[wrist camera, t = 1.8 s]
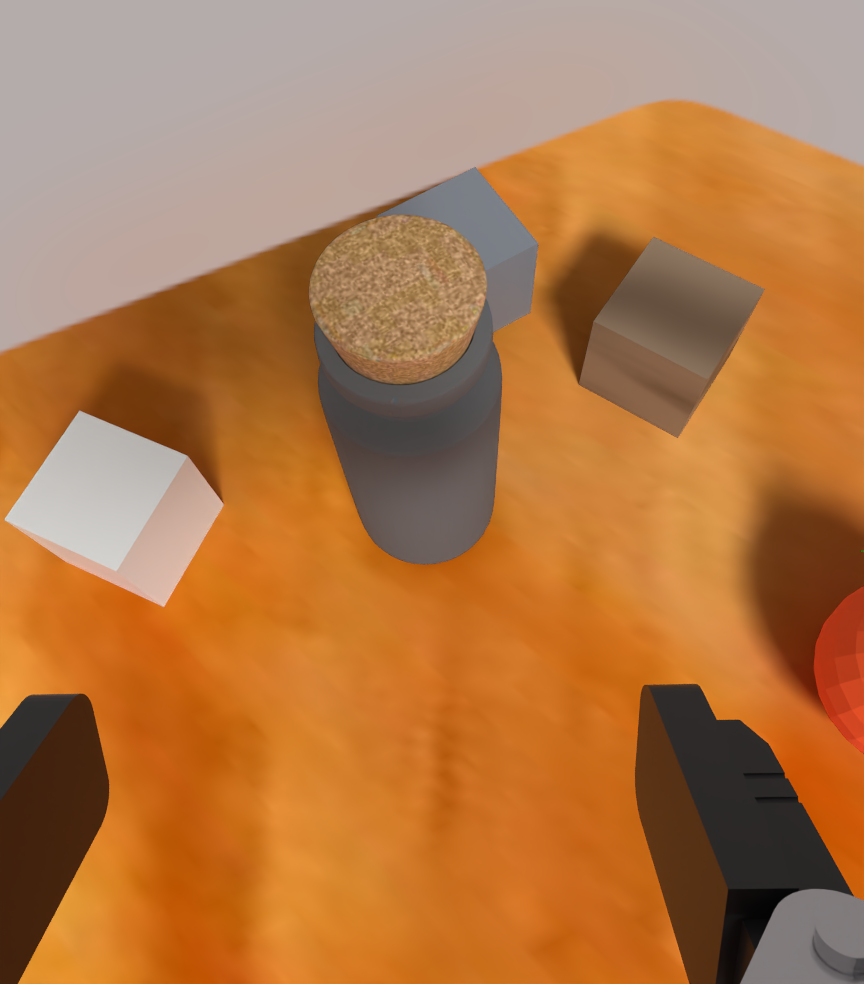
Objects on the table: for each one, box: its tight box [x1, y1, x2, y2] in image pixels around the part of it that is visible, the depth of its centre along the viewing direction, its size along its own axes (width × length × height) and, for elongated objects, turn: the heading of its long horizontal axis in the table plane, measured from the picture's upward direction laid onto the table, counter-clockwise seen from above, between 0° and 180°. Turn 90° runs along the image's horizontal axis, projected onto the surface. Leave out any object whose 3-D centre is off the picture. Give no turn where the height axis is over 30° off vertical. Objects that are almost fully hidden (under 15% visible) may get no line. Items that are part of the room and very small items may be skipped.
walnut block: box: [579, 237, 765, 438], centre depth 35 cm, size 5×5×5 cm
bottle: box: [309, 214, 502, 564], centre depth 28 cm, size 6×6×15 cm
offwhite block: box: [4, 411, 224, 607], centre depth 33 cm, size 5×5×5 cm
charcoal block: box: [377, 167, 538, 332], centre depth 37 cm, size 5×5×5 cm
